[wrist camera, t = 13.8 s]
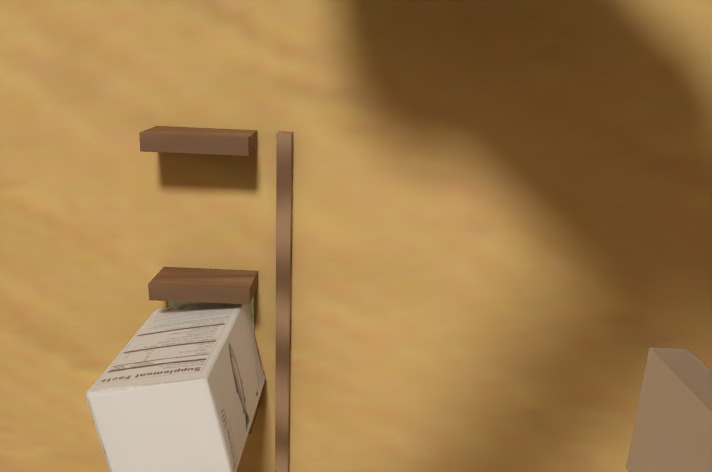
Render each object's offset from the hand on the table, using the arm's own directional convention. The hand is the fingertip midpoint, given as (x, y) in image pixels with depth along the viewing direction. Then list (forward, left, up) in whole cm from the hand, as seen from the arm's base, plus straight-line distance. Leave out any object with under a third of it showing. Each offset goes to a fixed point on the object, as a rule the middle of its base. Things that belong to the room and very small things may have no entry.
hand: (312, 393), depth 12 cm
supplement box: (+16, -10, -33) cm, 37 cm away
